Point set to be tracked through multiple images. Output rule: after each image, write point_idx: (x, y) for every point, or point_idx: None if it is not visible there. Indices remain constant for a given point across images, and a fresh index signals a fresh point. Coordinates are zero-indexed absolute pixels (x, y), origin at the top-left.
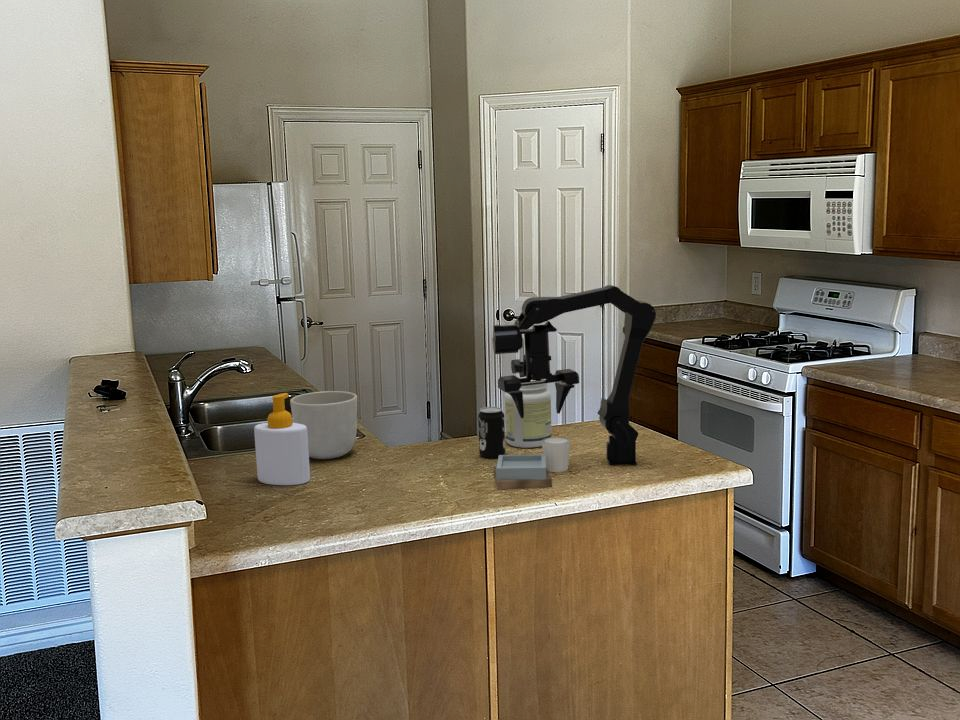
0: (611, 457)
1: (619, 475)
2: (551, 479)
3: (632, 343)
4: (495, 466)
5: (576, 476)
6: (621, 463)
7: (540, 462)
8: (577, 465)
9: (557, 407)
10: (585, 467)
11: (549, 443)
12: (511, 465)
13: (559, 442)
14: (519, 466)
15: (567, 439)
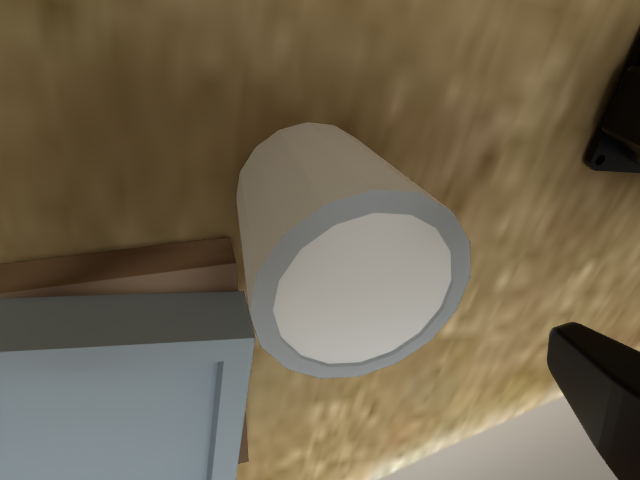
0: (629, 147)
1: (544, 294)
2: (247, 459)
3: None
4: None
5: None
6: (634, 172)
7: (211, 370)
8: (436, 136)
9: (604, 420)
10: (462, 177)
11: (301, 365)
12: (21, 427)
13: (378, 332)
14: (78, 437)
15: (454, 276)
